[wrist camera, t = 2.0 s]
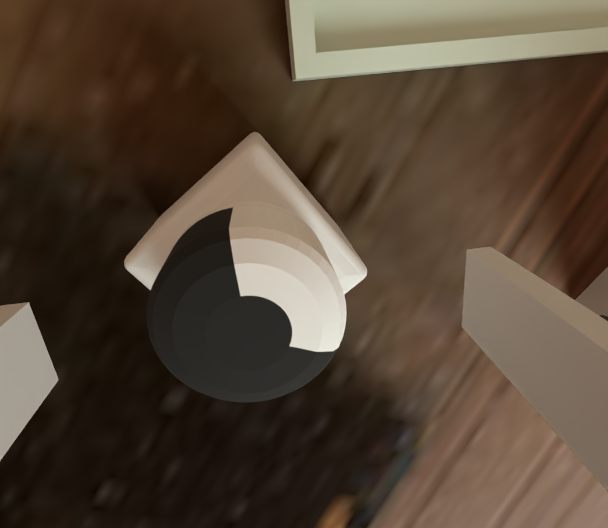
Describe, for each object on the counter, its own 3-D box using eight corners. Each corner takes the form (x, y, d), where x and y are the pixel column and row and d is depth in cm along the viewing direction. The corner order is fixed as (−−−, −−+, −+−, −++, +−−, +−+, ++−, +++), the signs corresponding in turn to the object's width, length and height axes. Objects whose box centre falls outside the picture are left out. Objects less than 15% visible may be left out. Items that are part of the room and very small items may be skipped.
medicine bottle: (248, 303, 25) (243, 466, 14) (157, 217, 22) (61, 331, 11) (339, 227, 24) (415, 337, 12) (255, 128, 21) (257, 155, 10)
